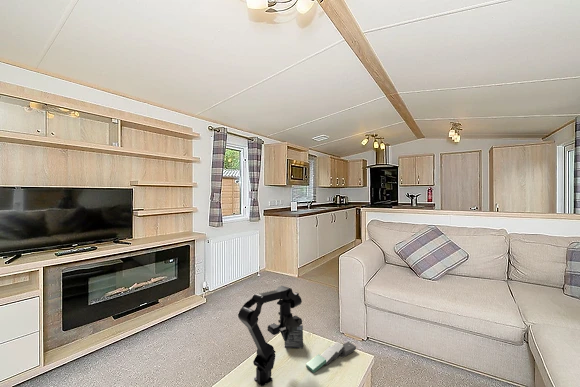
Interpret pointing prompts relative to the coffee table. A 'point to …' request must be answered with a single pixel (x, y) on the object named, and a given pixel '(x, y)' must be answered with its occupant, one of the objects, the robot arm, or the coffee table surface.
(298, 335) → the small box
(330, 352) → the tile
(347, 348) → the tile
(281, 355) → the coffee table surface
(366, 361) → the coffee table surface
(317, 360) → the tile
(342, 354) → the tile
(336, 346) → the tile
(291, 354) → the coffee table surface
